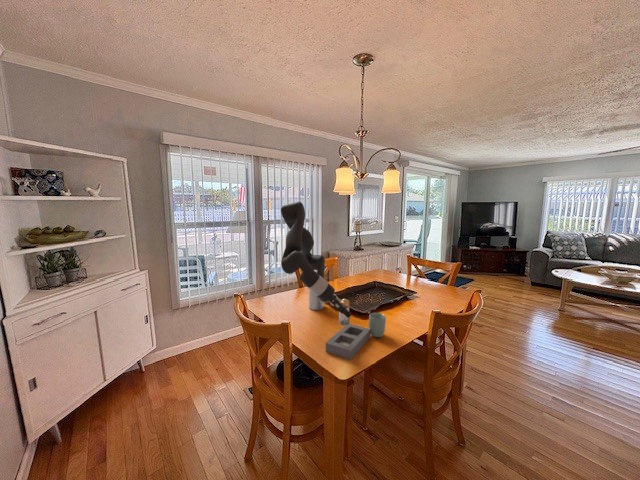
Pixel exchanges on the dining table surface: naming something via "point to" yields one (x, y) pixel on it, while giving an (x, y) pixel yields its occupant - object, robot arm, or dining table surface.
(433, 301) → the dining table surface
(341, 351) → the rack
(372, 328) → the cup
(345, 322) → the glass bottle
